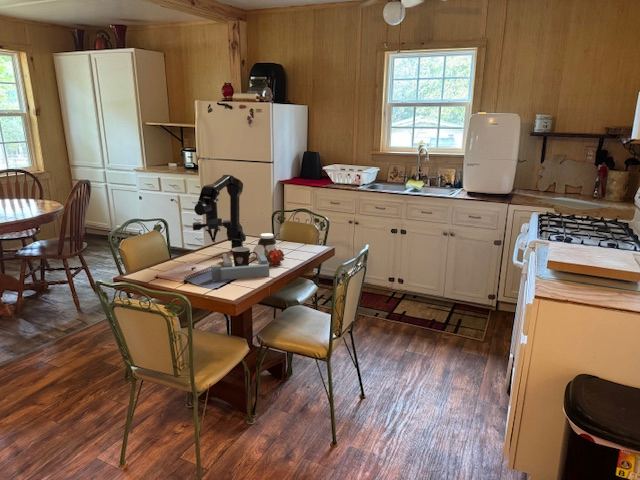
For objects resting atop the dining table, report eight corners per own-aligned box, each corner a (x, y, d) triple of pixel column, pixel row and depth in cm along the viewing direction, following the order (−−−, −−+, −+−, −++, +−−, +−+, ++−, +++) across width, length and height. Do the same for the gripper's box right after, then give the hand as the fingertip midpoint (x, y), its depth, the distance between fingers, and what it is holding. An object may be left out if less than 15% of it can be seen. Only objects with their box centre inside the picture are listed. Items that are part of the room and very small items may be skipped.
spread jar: (278, 253, 246) (277, 233, 243) (273, 259, 235) (273, 238, 232) (256, 253, 247) (255, 232, 244) (251, 259, 236) (250, 237, 233)
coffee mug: (229, 269, 218) (228, 250, 216) (240, 265, 226) (239, 245, 223) (248, 273, 213) (247, 253, 210) (259, 268, 220) (258, 249, 218)
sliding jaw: (221, 260, 232) (221, 248, 230) (228, 260, 233) (227, 248, 231) (225, 276, 208) (224, 262, 207) (233, 275, 209) (232, 262, 208)
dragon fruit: (283, 263, 233) (271, 273, 224) (271, 253, 235) (258, 262, 225) (290, 252, 229) (278, 262, 219) (278, 242, 230) (265, 251, 220)
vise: (210, 271, 216) (210, 258, 214) (264, 267, 223) (264, 254, 221) (212, 281, 203) (211, 267, 201) (269, 276, 210) (269, 262, 208)
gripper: (192, 215, 210) (194, 247, 215) (232, 213, 216) (234, 244, 220) (191, 211, 221) (193, 241, 225) (229, 209, 226) (231, 238, 230)
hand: (213, 241), depth 225 cm, fingers closed
